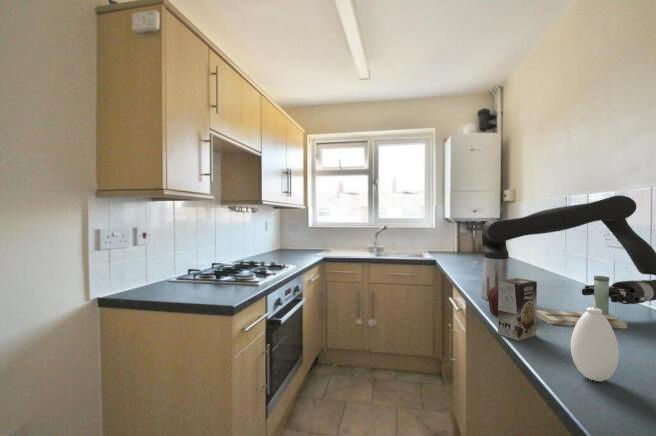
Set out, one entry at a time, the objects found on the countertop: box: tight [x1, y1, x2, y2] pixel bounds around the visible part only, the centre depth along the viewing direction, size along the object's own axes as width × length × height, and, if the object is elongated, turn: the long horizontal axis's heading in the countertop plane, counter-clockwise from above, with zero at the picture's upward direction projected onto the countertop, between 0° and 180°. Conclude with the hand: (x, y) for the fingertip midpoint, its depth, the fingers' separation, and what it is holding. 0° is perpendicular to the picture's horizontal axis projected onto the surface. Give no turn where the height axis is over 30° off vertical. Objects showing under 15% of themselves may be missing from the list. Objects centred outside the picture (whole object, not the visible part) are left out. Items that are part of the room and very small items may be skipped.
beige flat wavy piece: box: [536, 309, 628, 329], centre depth 102 cm, size 22×10×2 cm, turn 81°
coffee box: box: [497, 277, 538, 342], centre depth 90 cm, size 9×6×16 cm
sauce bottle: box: [570, 296, 620, 382], centre depth 66 cm, size 8×8×18 cm
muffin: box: [487, 285, 499, 317], centre depth 109 cm, size 12×11×10 cm
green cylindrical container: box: [593, 275, 617, 319], centre depth 101 cm, size 5×6×13 cm
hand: (597, 295), depth 100 cm, fingers open, 8 cm apart
